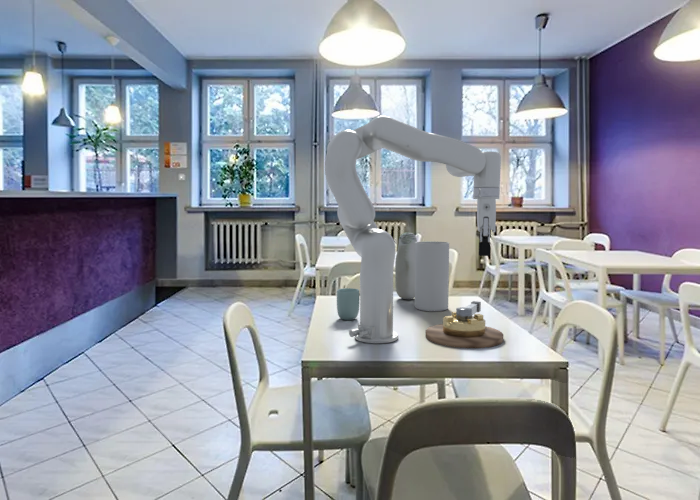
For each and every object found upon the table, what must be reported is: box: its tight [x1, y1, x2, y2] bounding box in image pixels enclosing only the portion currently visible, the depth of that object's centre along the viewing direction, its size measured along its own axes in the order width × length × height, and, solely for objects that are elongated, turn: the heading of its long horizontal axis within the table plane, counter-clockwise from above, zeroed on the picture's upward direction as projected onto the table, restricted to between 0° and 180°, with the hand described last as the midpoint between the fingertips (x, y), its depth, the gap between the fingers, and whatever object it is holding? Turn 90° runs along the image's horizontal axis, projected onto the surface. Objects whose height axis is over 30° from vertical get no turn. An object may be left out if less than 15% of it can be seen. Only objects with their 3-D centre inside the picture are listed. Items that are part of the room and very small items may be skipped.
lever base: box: [425, 323, 504, 349], centre depth 137 cm, size 22×22×2 cm
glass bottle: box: [394, 231, 418, 300], centre depth 196 cm, size 10×10×28 cm
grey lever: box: [442, 300, 486, 337], centre depth 140 cm, size 20×12×7 cm, turn 150°
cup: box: [336, 287, 360, 321], centre depth 161 cm, size 8×8×10 cm
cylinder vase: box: [414, 241, 450, 312], centre depth 177 cm, size 12×12×25 cm
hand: (484, 255), depth 141 cm, fingers closed
